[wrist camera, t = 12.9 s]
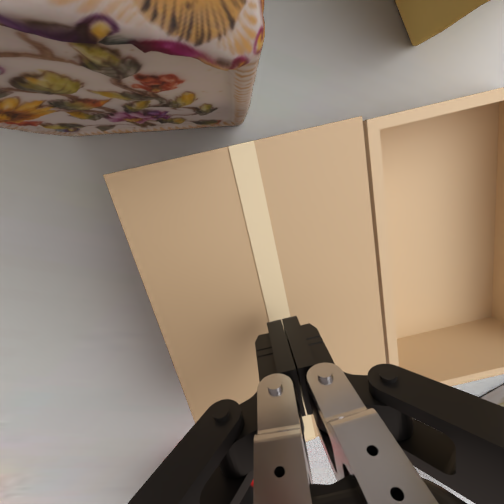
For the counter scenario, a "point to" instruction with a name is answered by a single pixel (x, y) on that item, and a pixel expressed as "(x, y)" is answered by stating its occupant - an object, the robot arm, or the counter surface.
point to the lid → (256, 254)
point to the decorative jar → (127, 64)
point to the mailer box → (440, 235)
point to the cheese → (432, 16)
